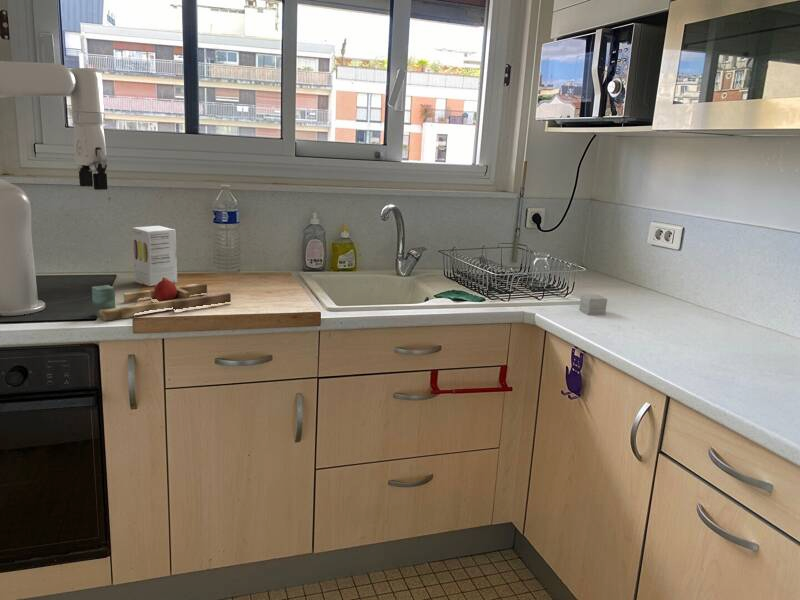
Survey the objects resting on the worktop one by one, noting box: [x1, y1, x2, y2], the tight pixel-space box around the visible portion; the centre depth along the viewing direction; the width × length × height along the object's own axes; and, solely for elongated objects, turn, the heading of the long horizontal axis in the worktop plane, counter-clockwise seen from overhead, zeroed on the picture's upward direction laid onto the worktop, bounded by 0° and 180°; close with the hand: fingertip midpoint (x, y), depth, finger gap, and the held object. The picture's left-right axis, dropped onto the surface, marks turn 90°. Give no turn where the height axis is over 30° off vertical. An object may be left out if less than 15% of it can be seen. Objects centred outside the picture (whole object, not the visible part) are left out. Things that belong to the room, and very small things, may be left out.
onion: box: [153, 277, 177, 302], centre depth 174 cm, size 6×6×8 cm
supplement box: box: [132, 225, 178, 285], centre depth 198 cm, size 10×9×17 cm
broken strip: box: [123, 283, 198, 304], centre depth 183 cm, size 21×1×2 cm, turn 135°
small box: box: [579, 293, 608, 316], centre depth 188 cm, size 6×6×5 cm
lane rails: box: [150, 283, 232, 310], centre depth 178 cm, size 16×14×3 cm
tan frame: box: [91, 284, 191, 322], centre depth 168 cm, size 22×10×7 cm, turn 135°
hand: (93, 187), depth 170 cm, fingers open, 9 cm apart
